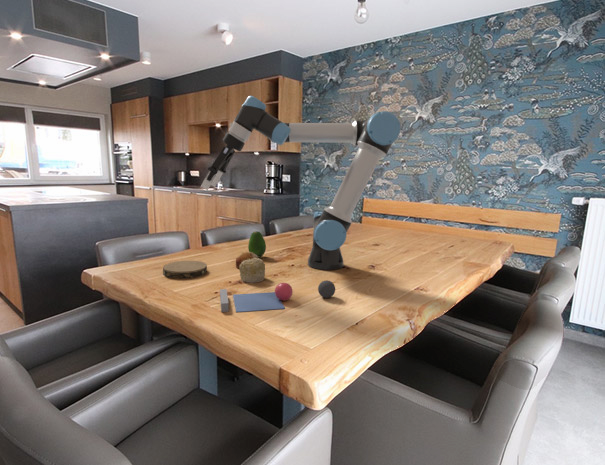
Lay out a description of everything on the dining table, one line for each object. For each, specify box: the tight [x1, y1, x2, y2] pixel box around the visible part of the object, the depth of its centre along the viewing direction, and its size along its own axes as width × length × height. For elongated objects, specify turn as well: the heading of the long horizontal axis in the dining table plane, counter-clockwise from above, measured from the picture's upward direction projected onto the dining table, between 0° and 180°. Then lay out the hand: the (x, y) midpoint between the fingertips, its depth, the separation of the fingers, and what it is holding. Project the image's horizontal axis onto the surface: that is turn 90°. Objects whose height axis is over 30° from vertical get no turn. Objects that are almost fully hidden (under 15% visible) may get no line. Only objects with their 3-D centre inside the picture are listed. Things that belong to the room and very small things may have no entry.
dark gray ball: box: [317, 280, 336, 299], centre depth 112 cm, size 6×6×6 cm
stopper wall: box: [219, 288, 230, 313], centre depth 105 cm, size 2×12×2 cm, turn 15°
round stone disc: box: [162, 260, 208, 280], centre depth 135 cm, size 16×16×3 cm
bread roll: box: [235, 251, 259, 270], centre depth 146 cm, size 10×10×8 cm
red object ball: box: [274, 282, 294, 302], centre depth 109 cm, size 6×6×6 cm
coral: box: [238, 257, 266, 284], centre depth 129 cm, size 9×9×8 cm
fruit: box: [247, 230, 267, 258], centre depth 160 cm, size 8×8×12 cm
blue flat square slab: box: [232, 291, 286, 313], centre depth 107 cm, size 14×14×1 cm
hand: (208, 186), depth 133 cm, fingers open, 13 cm apart
